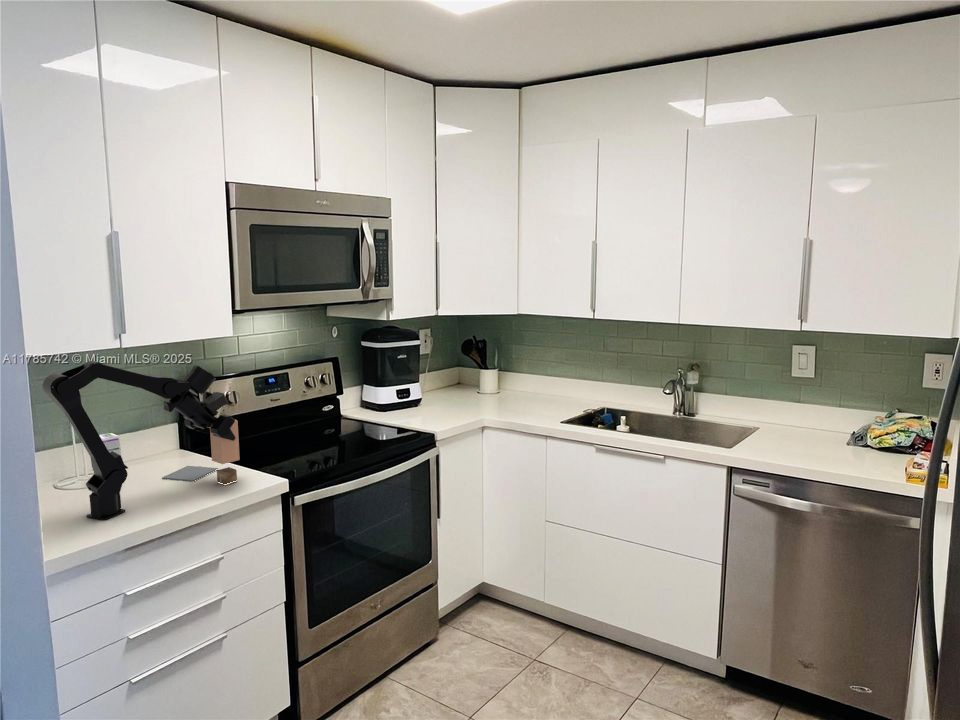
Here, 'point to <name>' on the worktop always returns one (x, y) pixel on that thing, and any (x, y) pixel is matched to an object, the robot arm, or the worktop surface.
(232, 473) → the letter cube
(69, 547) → the worktop surface
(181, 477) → the rubber mat
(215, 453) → the salmon pink pillar
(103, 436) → the syrup box
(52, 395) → the robot arm
